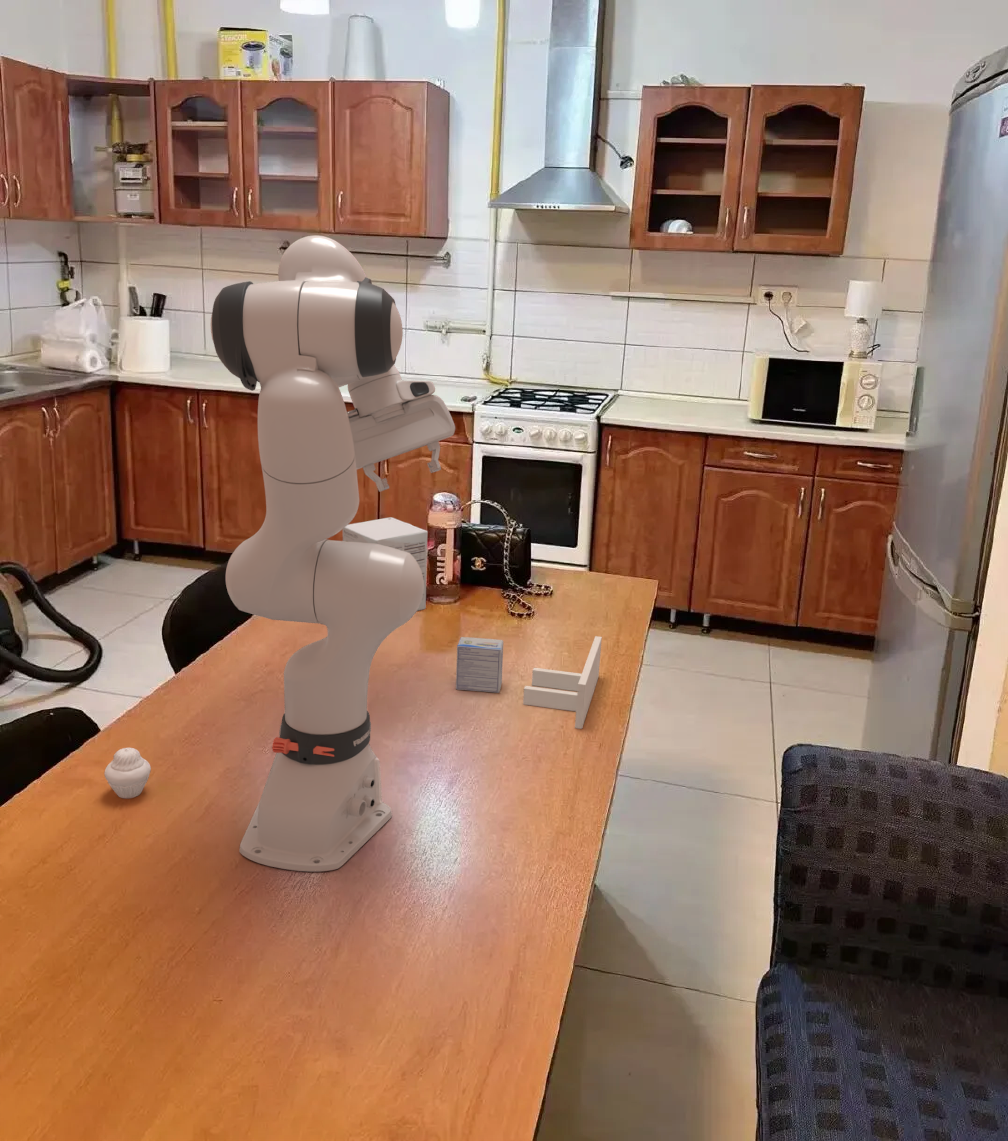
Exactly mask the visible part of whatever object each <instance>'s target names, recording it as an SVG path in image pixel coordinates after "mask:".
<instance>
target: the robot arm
mask: <svg viewBox="0 0 1008 1141" xmlns="http://www.w3.org/2000/svg"><path fill="white" fill-rule="evenodd" d="M277 268H278V270H277V277H278V280H277V281H275V280H274V281H265V282H259V283H253V281H242V282H239V283H234V284H231V285H230V284H229V285H226V286H225V287H223V288H221V290H220V292H218V293H217V295H216V296H215V298H214V302H213V306H212V312H211V315H210V316H211V317H210V335H211V339H212V342H213V345H214V346H213V347H214V350H215V353H216V356H217V358H218V359H219V361H220V362H221V363H222V364H223V365H224V367H225V368H226V369H227V370H228V371H229V372H230V373H231V374H232V375H233V376H235V377H236V378H238V379H240V382H241V384H242V386H243V387H244V388H245V389H247V390H249V391H251V392H252V391H253V392H254V391H255V390H256V387H257V384H258V383H259V384H260V385H259V386H260V391H259V396H258V400H257V402H258V403H257V404H258V405H257V441H258V452H259V459H260V464H261V465H260V466H261V471H262V472H261V473H262V478H263V484H264V494H265V506H266V508H265V510H266V512H265V518H264V521H263V523H262V525H261V527H260V528H259V530H258V531H257V532H255V534H253V535H252V536H250V537H249V538H247V539H245V540H244V541H242V542H241V543H240V544H239V545H238V546H237V547H236V548H235V549H234V551H233V552H232V554H231V555H230V557H229V559H228V561H227V562H228V563H227V565H226V570H225V585H226V589H227V593H228V595H229V598H230V600H231V601H232V603H233V605H234V606H235V607H236V608H237V610H239V611H241V612H244V613H248V614H252V615H254V616H256V617H261V618H265V619H269V620H273V621H285V622H294V623H308V624H320V625H324V626H326V628H327V636H326V637H324V638H321V639H319V640H316V641H313V642H311V643H309V644H307V645H304V646H303V647H301V648H300V649H297V650H296V651H295V652H294V653H293V654H292V655H291V656H290V657H289V659H288V660H287V662H286V664H285V667H284V669H283V670H284V671H283V690H284V691H283V692H284V693H283V694H284V713H283V715H282V717H281V724H280V725H279V726H280V727H279V733H278V735H279V737H278V736H276V737H274V739H273V741H272V746H271V749H272V752H273V753H275V757H274V760H273V762H272V764H271V767H270V771H269V773H268V776H267V779H266V782H265V784H264V785H265V786H264V788H263V791H262V794H261V796H260V799H259V801H258V804H257V806H256V809H255V811H254V812H253V815H252V817H251V819H250V822H249V824H248V825H247V828H246V830H245V831H244V832H245V833H244V835H243V837H242V838H241V841H240V844H239V853H240V854H241V855H242V856H243V857H245V858H246V859H248V860H251V861H253V862H255V863H257V864H261V865H265V866H268V867H271V868H273V867H274V868H278V869H282V870H290V871H298V872H299V871H300V872H311V873H312V872H327V871H333V870H337V869H339V868H341V867H343V865H344V864H346V862H348V861H349V859H350V858H352V857H353V856H354V855H355V854H356V853H357V852H358V850H360V849H361V848H362V847H363V846H364V845H365V844H366V843H367V842H368V841H369V840H371V838H372V837H373V836H374V835H375V834H376V833H377V832H378V831H379V830H380V829H381V828H382V827H383V826H384V825H385V824H386V823H387V822H388V821H389V820H390V819H391V818H392V817H393V815H392V814H393V813H392V812H393V811H392V807H390V806H389V805H388V804H387V803H385V802H384V801H383V795H382V794H383V792H382V778H381V777H382V774H381V763H380V762H381V761H380V759H379V757H377V755H376V754H375V752H374V751H373V749H372V747H371V745H370V741H371V731H372V723H371V716H370V712H369V711H368V688H369V679H370V669H371V665H372V662H373V659H374V658H375V655H376V652H377V650H378V649H379V647H380V646H381V645H382V643H383V642H384V640H385V639H387V637H388V636H389V635H390V634H391V633H393V632H394V631H395V630H397V629H399V628H400V627H402V626H403V625H406V623H407V622H409V620H411V619H412V618H413V617H414V616H415V614H416V613H417V612H418V611H419V610H418V608H419V606H420V604H421V601H422V598H423V592H424V580H423V575H422V571H421V569H420V567H419V565H418V563H417V561H416V560H415V558H414V557H413V556H412V555H411V554H410V553H408V552H405V551H402V550H398V549H395V548H391V547H388V546H384V545H380V544H374V543H361V542H348V541H343V540H331V538H332V537H334V536H335V535H337V534H339V533H340V532H342V531H343V528H344V527H346V526H347V525H349V524H351V522H352V521H353V519H355V516H356V515H357V512H358V509H359V506H360V494H359V493H360V492H359V483H358V470H359V469H363V472H364V474H365V476H367V477H368V478H369V479H370V480H371V481H373V482H374V483H375V486H376V487H377V490H378V492H383V491H385V490H388V489H390V485H389V483H388V479H387V478H386V477H385V478H381V477H380V476H379V475H377V474H376V473H375V472H374V471H376V466H375V464H376V463H379V462H382V461H385V460H388V459H391V458H394V457H397V456H399V455H403V454H405V453H409V452H411V451H414V450H417V449H419V448H423V447H425V446H427V449H428V451H429V452H432V453H431V460H430V461H429V462H427V463H426V464H427V467H428V469H429V472H430V474H433V473H435V472H439V471H441V470H442V468H441V464H440V461H439V459H440V458H439V457H440V452H441V445H440V441H442V440H445V439H448V438H450V437H452V436H454V434H455V431H456V425H455V423H454V420H453V417H452V415H451V413H450V410H449V409H448V406H447V404H446V403H445V401H444V400H443V398H441V397H440V396H438V395H436V394H434V393H435V392H436V388H435V387H436V386H435V384H434V382H433V381H431V380H406V379H403V380H402V377H401V374H400V371H399V370H398V368H397V367H396V366H395V364H396V361H397V357H398V355H399V352H400V350H401V346H402V341H403V322H402V318H401V315H400V313H399V310H398V308H397V305H396V301H395V298H394V297H392V296H391V294H390V293H388V291H387V290H385V289H384V288H383V287H380V286H378V285H375V284H373V283H372V278H368V276H367V274H366V273H365V270H364V268H363V267H362V265H361V264H360V262H359V261H358V259H357V258H356V257H355V256H354V255H353V253H352V252H351V251H350V250H348V249H347V248H346V247H345V246H343V244H341V243H340V242H338V241H336V240H335V239H333V238H331V237H328V236H323V235H318V234H316V235H308V236H304V237H301V238H299V239H297V240H296V241H294V242H293V243H291V244H290V245H289V246H288V247H287V248H286V249H285V251H284V252H283V254H282V256H281V258H280V261H279V264H278V267H277ZM344 386H347V391H348V394H349V396H350V399H351V401H352V402H351V403H352V404H353V407H354V409H352V410H348V411H347V408H346V404H345V401H344V398H343V395H342V393H341V389H340V388H342V387H344ZM329 538H330V539H329ZM417 610H418V611H417Z"/></svg>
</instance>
